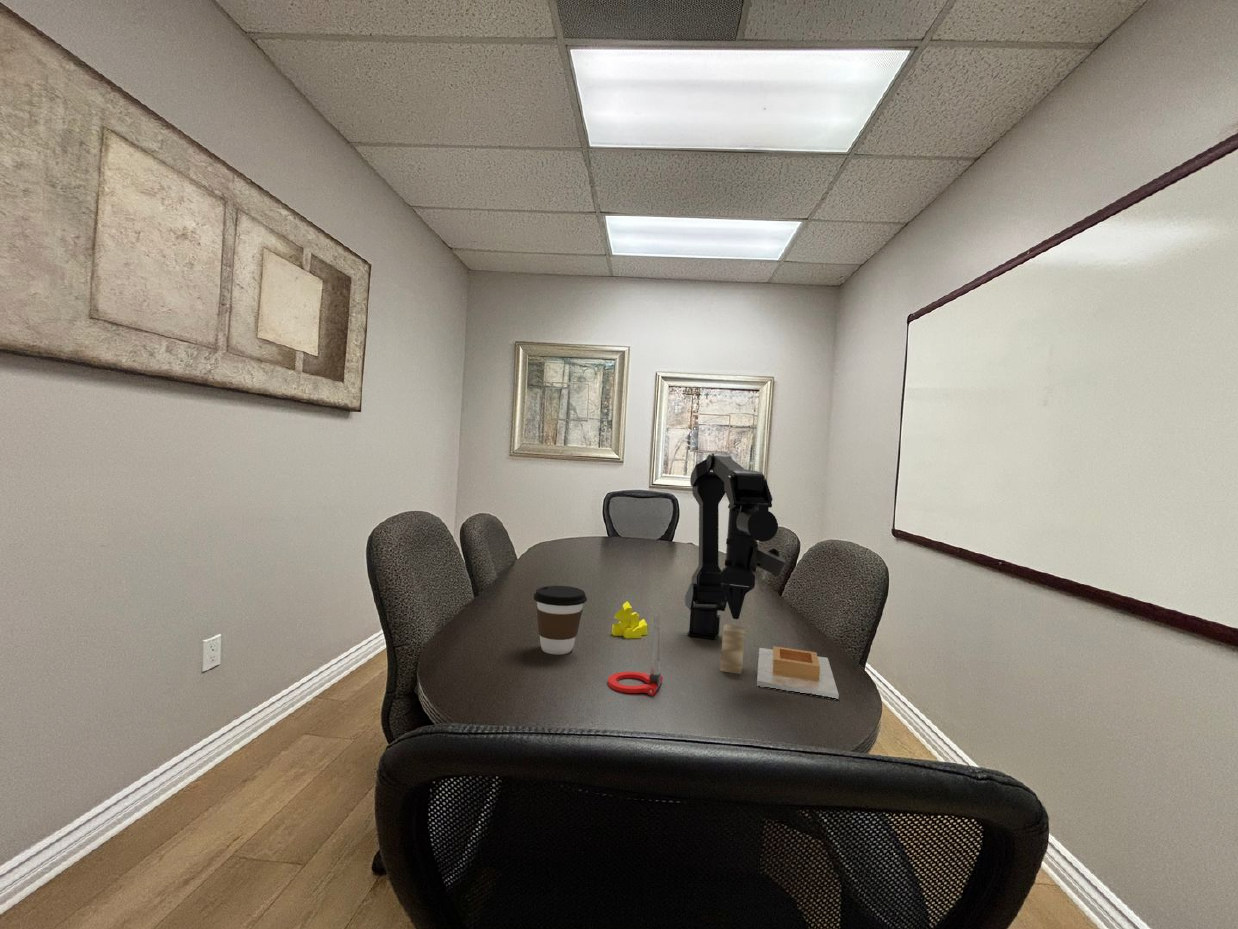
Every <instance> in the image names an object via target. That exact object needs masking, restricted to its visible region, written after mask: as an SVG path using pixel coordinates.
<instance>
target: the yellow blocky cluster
mask: <svg viewBox="0 0 1238 929" xmlns="http://www.w3.org/2000/svg"><path fill="white" fill-rule="evenodd" d="M613 618H614V619H615V620H618V622H615V623H613V624H612V625H611V635H613V636H614V637H615V636H616V637H617V636H622V637H624V639H642V636H648V624H647V622H646V620H645V619H644V618H643V619H641V620H640V614H638V613H637V612H636V611H634V612H633V607H632V606H631V604H630V603H629V602H628V600H627V601H625V602H624V603H623V604H622V606H621V608H620V609H619V610H617V611H616V612H615V614H614V616H613Z"/></svg>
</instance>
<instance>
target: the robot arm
mask: <svg viewBox="0 0 1238 929" xmlns="http://www.w3.org/2000/svg"><path fill="white" fill-rule="evenodd" d="M689 481H690V482H689V483H690V487H691V489H692V496H693V497H694V499H695V501H696V502H697V504H698V566H697V567H696V569H695V571H694V572H693V574H692V575H691V583H690V584H689V586H688V588H687V591H686V593H685V596H684V603H685V606H686V607H687V608H688V611H690V613H689V614H690V615H689V624H688V625H689V628H688V632H687V636H689V637H697V638H701V639H709V640H716V639H717V636H719V635H720V632H721V631H720V630H721V615H720V614H719V611H720V612H721V611H722V612H726V608H727V604H728V608H729V610H730V613H731V617H732V619H734V620H739V619H740V616H741V612H742V610H743V609H742V608H743V604H744V601H745V597H746V595H747V594H748V593H749V592H750V591H752V590H754V589H755V586H756V573H757V567H758V568H759V569H762V570H764V571H766V572H768V573H770V574H771V575H773V576H774V577H776V578H780V576H781V574H782V572H783V570H784V568H785V565H786V563H787V562H786V559H784V558H783V557H781V556H780V550H779V549H777V548H775V547H773V546H772V547H771V548H769V549H768V550H766V549H763V548H761V547H759V542H763V543H764V542H768V541H769V540H772V539H773V538H774V537H775V536H776V534H777V533H778V529H779V523H778V519H777V517H776V515H775V514H773V513H772V512H771V511H769V508H772V506H773V500H774V499H773V496H772V494H771V490H770V487H769V484H768V480H767V479H766V477H765V474H763V472H761V471H758V470H752V469H747V468H744V467H743V466H742V465H740V464H739V463H737V462H736V461H735V460H734V459H733V458H732V455H729V454H727V453H716V452H715V453H714V452H713V453H711V454H710V453H709V454H708V455H707V457H706V459H704V460H701V461H700V462H699V463H696V464H695V465H694V468H693V470H692V471H691V474H690V479H689ZM725 495H726V498H727V501H728V506H727V508H728V509H729V510H728V522H727V533H726V534H727V536H726V537H727V538H726V540H725V542H726V543H725V545H726V553H725V559H724V566H725V567H724V568H723V569H721V568H720V565H719V562H720V561H719V557H720V556H719V554H720V553H719V547H720V546H719V535H720V534H719V529H720V528H719V518H720V517H719V508H720V507H719V504H720V503H721V501H722V500H723V498H724V496H725Z"/></svg>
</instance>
